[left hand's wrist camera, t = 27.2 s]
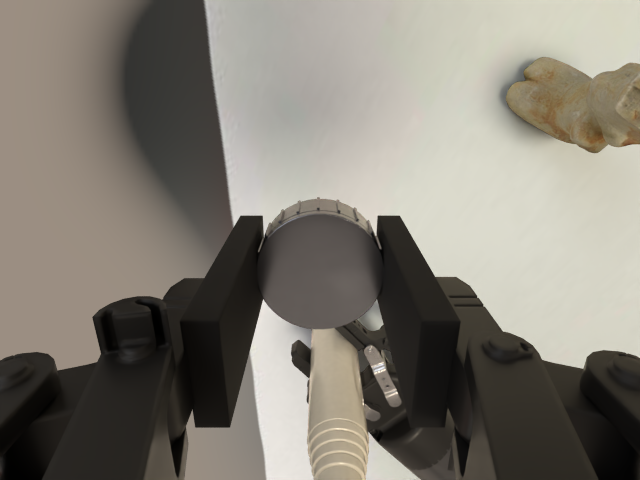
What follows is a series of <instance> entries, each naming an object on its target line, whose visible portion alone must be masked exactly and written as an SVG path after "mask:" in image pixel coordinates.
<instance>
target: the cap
mask: <svg viewBox="0 0 640 480" xmlns="http://www.w3.org/2000/svg"><path fill="white" fill-rule="evenodd" d="M381 251H382V248H381V245H380V242H379V239H378V237H377V236H375V234H374V231H373V229H372V227H371V224H370V221H369V220H368V221H367V220H366V219H365V218H364V217H363V216H362V215H361V214H360V213H359V212H357V209H356V208H354V209H353V208H352V207H350V206H348V205H346V204H343V203H341V202H339V200H337V201H334V200H328V199H320V197H317V199H312V200H306V201H302V202H301V201H298V203H297V204H294V205H292V206H290V207H289V208H287V209H285V210H281V213H280V214H279V215H278V216H277V217H276V218H275V219H274V221H273V222H272V223H269V225H268V228H267V230H266V233H265V237H264V239H262V242H261V245H260V247H259V250H258V258H257V279H258V288H259V291H260V293H261V295H262V297H263V299H264V301H265V302H266V303H267V305H268V306H269V307H270V308H271V309H272V310H273V311H274V312H275V313H276V314H277V315H278V316H280V317H281V318H283V319H284V320H286V321H288V322H290V323H292V324H294V325H297V326H300V327H304V328H309V329H332V328H336V327H340V326H343V325H346V324H348V323H351V322H353V321H354V320H356V319H358V318H359V317H361V316H362V315H363V314H364V313H366V312H367V311H368V310H369V309H370V308H371V306H372V305H373V304H374V302H375V301H376V299H377V298H378V296H379V294H380V292H381V289H382V283H383V268H384V261H383V256H382V253H381Z"/></svg>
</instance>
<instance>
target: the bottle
mask: <svg viewBox="0 0 640 480" xmlns="http://www.w3.org/2000/svg"><path fill="white" fill-rule="evenodd" d="M368 443H369V437H368V429H367V422H366V414H365V406H364V398H363V390H362V383H361V375H360V367H359V359H358V351H357V349H356V348H355V347H354V346H353V345H352V344H351V343H350V342H349V341H348V340H346V339H345V338H344V337H343V336H342V335H341V334H340V333H339V332H338V331H337V330H336V329H335V328H332V329H312V337H311V361H310V385H309V409H308V433H307V444H308V454H309V457H310V464H311V467H312V475H313V477H314V480H366V478H365V475H366V472H367V466H366V465H367V462H368V453H369V446H368Z"/></svg>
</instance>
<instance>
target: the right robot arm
mask: <svg viewBox="0 0 640 480" xmlns="http://www.w3.org/2000/svg"><path fill="white" fill-rule="evenodd" d="M335 329H336V330H337V331H338V332H339V333H340V334H341V335H342V336H343V337H344V338H345V339H346V340H348V341H349V342H350V343H351V344H352V345H353V346H354V347H355V348H356V349H357V350H358V351H360V350H361V349H362V350H363V351H364V354H365V356H366V358H367V360H368V362H369V364H370V365H369V366H368V367H367V368H366V369H365V370H364V371H363V372H361V373H360V375H361V383H362V390H363V398H364V406H365V414H366V422H367V429H368V432H369V433H370V434H371V435H372V436H373V438H374V439H375V440H376V441H377V442H378V443H379V444H380V445H381V446H382V447H383V448H384V449H385V450H387V451H388V452H389V453H390V454H391V455H392V456H394V457H395V458H396V459H397V460H398V461H400V462H401V463H402V464H403V465H404V466H405V467H407V468H408V469H409V470H410V471H411V472H412V473H414V474H415V475H416V476H417V477H418V478H420V479H421V480H456V476H455V467H454V468H453V471H450V470H448V463H449V456H450V450H451V444H452V438H453V431H454V425H455V424H454V422H453V419H452V416H451V414H450V411H449V409H448V410H447V417H446V423H445V427H410V424H409V420H408V416H407V412H406V408H405V405H404V401H403V397H402V393H401V389H400V385H399V381H398V377H397V374H396V370H395V366H394V364H391V363H389V361H388V359H387V357H386V355H385V353H384V351H383V349H386V350H388V351H390V352H391V350H390V346H389V343H388V339H387V335H386V331H385V327H384V325H383V326H381V328H380V330H377V331H369V330H367V329H366V328H365V327H364V326H363V325H362V324H361V323H360V322H359V321H358V320H357V319H356V320H354V321H353V322H351V323H348V324H346V325H343V326H340V327H336V328H335ZM291 355H292V362H293V364H294V366H295V367H297V368H298V369H299V370H300V371H302V373H304V374H305V375H306V376H307V377H308V378H309V380H308V384H307V387H308V394H307V403H308V404H309V385H310V361H311V350H310V349H309V348H308V347H307V346H306V345H305V344H304V343H303V342H301V341H300V340H297V341H296V342H295V343H293V344H292V350H291Z"/></svg>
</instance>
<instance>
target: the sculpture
mask: <svg viewBox="0 0 640 480" xmlns="http://www.w3.org/2000/svg"><path fill="white" fill-rule="evenodd" d="M524 76H525V79H526V81H520V82H516V83H514V84H513V85H512V86H511V87H510V88H509V90H508V93H507V96H506V101H507V104H508V106H509V107H510V108H511V110H512V111H513V112H515V113H516V114H517V115H518V116H520V117H521V118H522V119H524V120H525V121H527V122H529V123H530V124H532V125H533V126H535V127H537V128H539V129H540V130H542V131H544V132H546V133H547V134H549V135H551V136H553V137H555V138H556V139H558V140H561V141H564V142H567V143H571V144H577V145H578V146H579V147H581V148H583V149H585V150H587V151H588V152H591V153H598V152H600V151H601V150H602V149H603V148H605V147H606V146H607V145H608V144H609V145H611V146H614V147H622V146H627V145H631V144H640V64H638V63H628V64H626V65H624V66H623V67H621V68H620V69H618V70H616V71H607V72H603V73H600V74H598V75H596V76H595V77H594V78H593V79H592V78H590V77H589V76H587V75H586V74H584V73H582V72H581V71H579V70H577V69H575V68H573V67H571V66H569V65H567V64H565V63H562V62H560V61H557V60H555V59H551V58H546V57H542V58H539V59H537V60H536V61H535V62H533V63H532V64H531V65H530V66H528V67H527V68H526V69H525V70H524Z"/></svg>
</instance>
